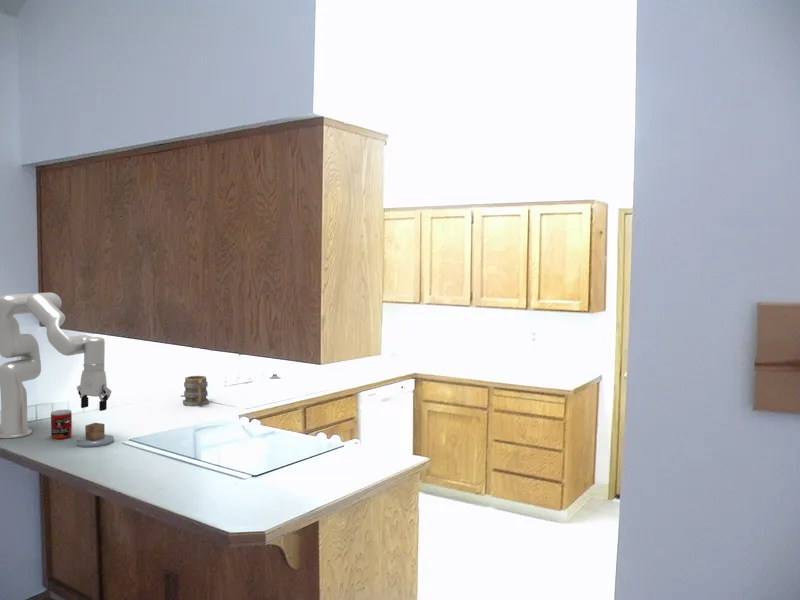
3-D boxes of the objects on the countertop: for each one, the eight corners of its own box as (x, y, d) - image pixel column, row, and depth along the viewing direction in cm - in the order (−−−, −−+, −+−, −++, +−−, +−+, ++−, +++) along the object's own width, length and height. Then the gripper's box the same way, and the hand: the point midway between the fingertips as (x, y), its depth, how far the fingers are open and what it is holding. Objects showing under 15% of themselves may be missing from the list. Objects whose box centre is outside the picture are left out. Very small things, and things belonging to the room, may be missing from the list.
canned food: (49, 440, 267) (48, 414, 266) (53, 435, 274) (53, 409, 274) (69, 439, 269) (69, 413, 268) (73, 434, 276) (73, 409, 276)
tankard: (181, 402, 342) (181, 374, 341) (206, 400, 347) (206, 372, 346) (186, 410, 324) (186, 380, 323) (212, 408, 329) (212, 379, 328)
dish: (68, 445, 260) (68, 441, 260) (95, 436, 273) (95, 433, 273) (94, 449, 255) (94, 445, 255) (121, 440, 268) (121, 436, 268)
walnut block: (85, 439, 263) (85, 425, 262) (95, 436, 267) (94, 422, 267) (95, 441, 261) (94, 426, 261) (104, 438, 266) (104, 423, 265)
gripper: (70, 366, 262) (70, 408, 263) (103, 371, 256) (102, 413, 257) (85, 364, 269) (85, 404, 270) (117, 368, 263) (117, 409, 264)
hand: (93, 408), depth 264 cm, fingers open, 9 cm apart
